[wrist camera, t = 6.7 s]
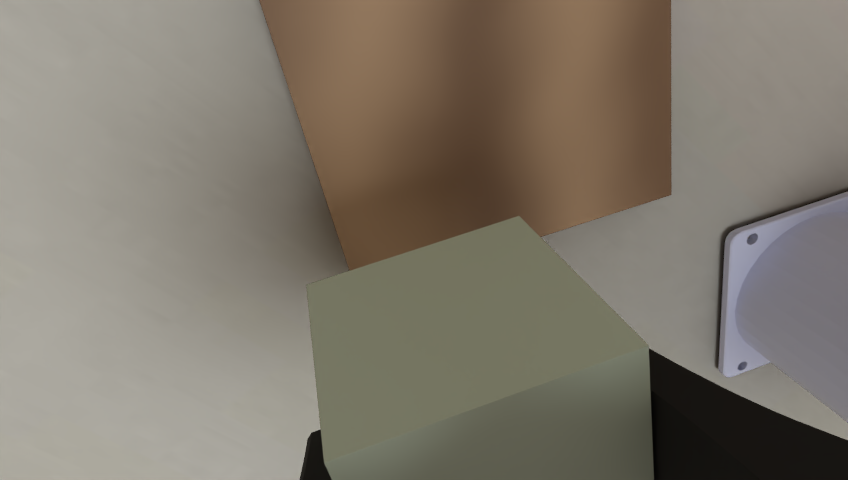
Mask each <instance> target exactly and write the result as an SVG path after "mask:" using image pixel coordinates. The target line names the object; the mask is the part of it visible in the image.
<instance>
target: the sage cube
mask: <svg viewBox="0 0 848 480" xmlns="http://www.w3.org/2000/svg"><path fill="white" fill-rule="evenodd" d="M306 288H307V298H308V308H309V318H310V328H311V338H312V348H313V358H314V368H315V378H316V388H317V398H318V408H319V418H320V428H321V438H322V448H323V458H324V464H325V466H326V468H327V470H328V472H329V475H330V477H331V479H332V480H654V467H653V442H652V417H651V392H650V367H649V345H648V344H647V343H646V342H645V341H644V340H643V339H642V338H641V337H640V336H639V335H638V334H637V333H636V332H635V331H634V330H633V329H632V328H631V327H630V326H629V325H628V324H627V323H626V322H625V321H624V320H623V319H622V318H621V317H620V316H619V315H618V314H617V313H616V312H615V311H614V310H613V309H612V308H611V307H610V306H609V305H608V304H607V303H606V302H605V301H604V300H603V299H602V298H601V297H600V296H599V295H598V294H597V293H596V292H595V291H594V290H593V289H592V288H591V287H590V286H589V285H588V284H587V283H586V282H585V281H584V280H583V279H582V278H581V277H580V276H579V275H578V274H577V273H576V272H575V271H574V270H573V269H572V268H571V267H570V266H569V265H568V264H567V263H566V262H565V261H564V260H563V259H562V258H561V257H560V256H559V255H558V254H557V253H556V252H555V251H554V250H553V249H552V248H551V247H550V246H549V245H548V244H547V243H546V242H545V241H544V240H543V239H542V238H541V237H540V236H539V235H538V234H537V233H536V232H535V231H534V230H533V229H532V228H531V227H530V226H529V225H528V224H527V223H526V222H525V221H524V220H523V219H522V218H521V217H520V216H517V217H514V218H511V219H508V220H505V221H502V222H498V223H495V224H492V225H489V226H486V227H483V228H480V229H477V230H474V231H471V232H468V233H465V234H462V235H458V236H455V237H452V238H449V239H446V240H443V241H440V242H437V243H434V244H431V245H428V246H425V247H421V248H418V249H415V250H412V251H409V252H406V253H403V254H400V255H397V256H394V257H391V258H388V259H384V260H381V261H378V262H375V263H372V264H369V265H366V266H363V267H360V268H357V269H354V270H351V271H348V272H344V273H341V274H338V275H335V276H332V277H329V278H326V279H323V280H320V281H317V282H314V283H311V284H307V285H306Z"/></svg>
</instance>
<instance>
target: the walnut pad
mask: <svg viewBox="0 0 848 480" xmlns="http://www.w3.org/2000/svg"><path fill="white" fill-rule="evenodd" d="M259 1H260V4H261V7H262V10H263V13H264V16H265V19H266V22H267V25H268V28H269V31H270V34H271V37H272V40H273V43H274V46H275V49H276V52H277V55H278V58H279V61H280V64H281V67H282V70H283V73H284V76H285V79H286V82H287V85H288V88H289V91H290V94H291V97H292V100H293V103H294V106H295V109H296V112H297V115H298V118H299V121H300V124H301V127H302V130H303V133H304V136H305V139H306V142H307V145H308V148H309V151H310V154H311V157H312V160H313V163H314V166H315V169H316V172H317V175H318V178H319V181H320V184H321V187H322V190H323V193H324V196H325V199H326V202H327V205H328V208H329V211H330V214H331V217H332V220H333V223H334V226H335V229H336V232H337V235H338V237H339V240H340V243H341V246H342V249H343V252H344V255H345V258H346V261H347V264H348V267H349V270H350V271H351V270H354V269H357V268H360V267H363V266H366V265H369V264H372V263H375V262H378V261H381V260H384V259H388V258H391V257H394V256H397V255H400V254H403V253H406V252H409V251H412V250H415V249H418V248H421V247H425V246H428V245H431V244H434V243H437V242H440V241H443V240H446V239H449V238H452V237H455V236H458V235H462V234H465V233H468V232H471V231H474V230H477V229H480V228H483V227H486V226H489V225H492V224H495V223H498V222H502V221H505V220H508V219H511V218H514V217H517V216H520V217H521V218H522V219H523V220H524V221H525V222H526V223H527V224H528V225H529V226H530V227H531V228H532V229H533V230H534V231H535V232H536V233H537V234H538V235H539V236H540V237H542V236H545V235H548V234H551V233H554V232H557V231H560V230H564V229H567V228H570V227H573V226H576V225H579V224H582V223H585V222H588V221H592V220H595V219H598V218H601V217H604V216H607V215H610V214H613V213H616V212H619V211H623V210H626V209H629V208H632V207H635V206H638V205H641V204H644V203H647V202H650V201H654V200H657V199H660V198H663V197H666V196H669V195H671V0H259Z"/></svg>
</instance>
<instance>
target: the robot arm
mask: <svg viewBox="0 0 848 480" xmlns="http://www.w3.org/2000/svg"><path fill="white" fill-rule="evenodd" d="M749 236H750V237H749ZM748 237H749V238H748ZM747 238H748V239H747ZM768 363H773V364H774V365H775V366H776V367H778V368H779V369H780V370H781V371H783V372H784V373H785V374H787V375H788V376H789V377H790V378H792V379H793V380H794V381H795V382H797V383H798V384H799V385H801V386H802V387H803V388H804V389H806V390H807V391H808V392H809V393H811V394H812V395H813V396H815V397H816V398H817V399H818V400H820V401H821V402H822V403H823V404H825V405H826V406H827V407H829V408H830V409H831V410H832V411H834V412H835V413H836V414H837V415H839V416H840V417H841V418H843V419H844V420H845V421H846V422H848V191H847V192H844V193H841V194H839V195H836V196H833V197H830V198H827V199H824V200H821V201H818V202H815V203H812V204H809V205H806V206H803V207H800V208H797V209H794V210H791V211H788V212H785V213H782V214H779V215H776V216H773V217H770V218H767V219H764V220H761V221H758V222H755V223H752V224H749V225H746V226H743V227H740V228H737V229H735V230H733V231H731V232H730V233H729V234H728V236H727V237H726V240H725V251H724V270H723V290H722V309H721V329H720V349H719V371H720V372H721V373H722V374H723V375H724V376H725V377H733V376H735V375H738V374H741V373H744V372H746V371H749V370H752V369H754V368H757V367H760V366H763V365H765V364H768ZM649 367H650V392H651V417H652V442H653V467H654V480H848V440H845V439H842V438H840V437H837V436H834V435H832V434H829V433H827V432H824V431H822V430H819V429H816V428H814V427H811V426H809V425H806V424H804V423H801V422H798V421H796V420H793V419H791V418H789V417H786V416H784V415H781V414H779V413H777V412H774V411H772V410H770V409H768V408H765V407H763V406H761V405H759V404H757V403H755V402H752V401H750V400H748V399H746V398H744V397H741V396H739V395H737V394H735V393H733V392H731V391H729V390H727V389H725V388H723V387H721V386H719V385H717V384H715V383H713V382H711V381H709V380H707V379H705V378H703V377H701V376H699V375H697V374H695V373H693V372H691V371H689V370H687V369H686V368H684V367H682V366H680V365H678V364H676V363H674V362H673V361H671V360H669V359H667V358H665V357H664V356H662V355H660V354H658V353H656V352H654V351H653V350H651V349H649ZM300 480H332V479H331V477H330V475H329V472H328V470H327V468H326V466H325V464H324V458H323V448H322V438H321V430H318V431H315V432H312V433H311V435H310V436H309V438H308V440H307V446H306V452H305V457H304V462H303V467H302V472H301V476H300Z"/></svg>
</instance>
